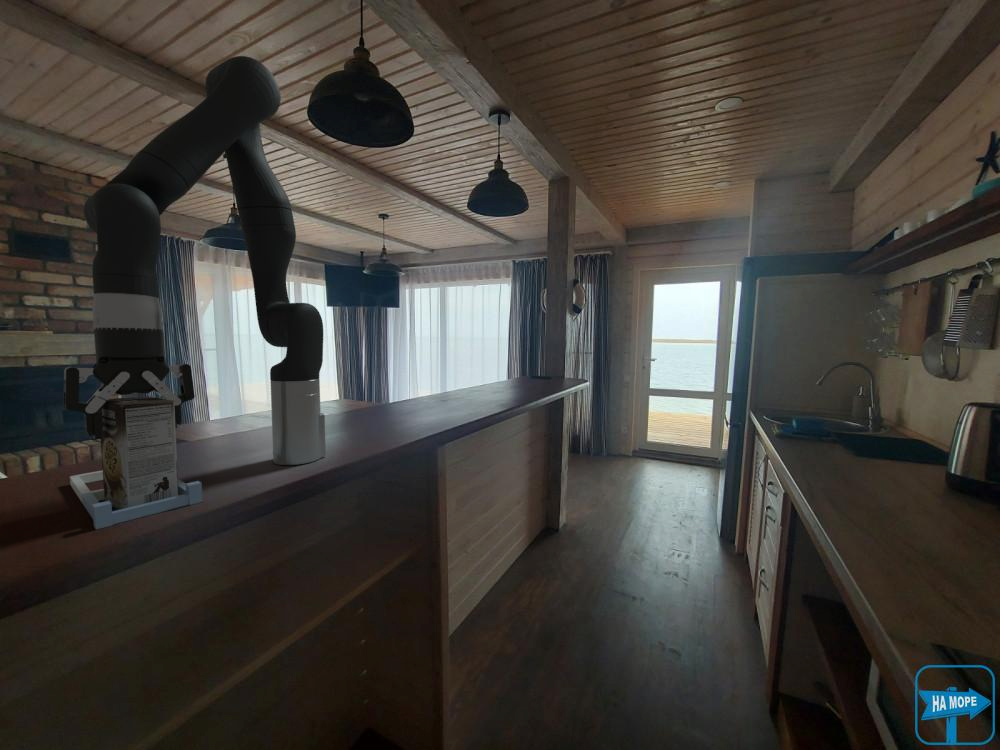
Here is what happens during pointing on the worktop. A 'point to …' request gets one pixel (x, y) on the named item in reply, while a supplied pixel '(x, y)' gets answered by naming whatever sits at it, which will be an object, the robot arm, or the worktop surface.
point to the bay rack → (107, 517)
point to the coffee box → (138, 450)
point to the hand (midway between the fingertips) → (136, 433)
